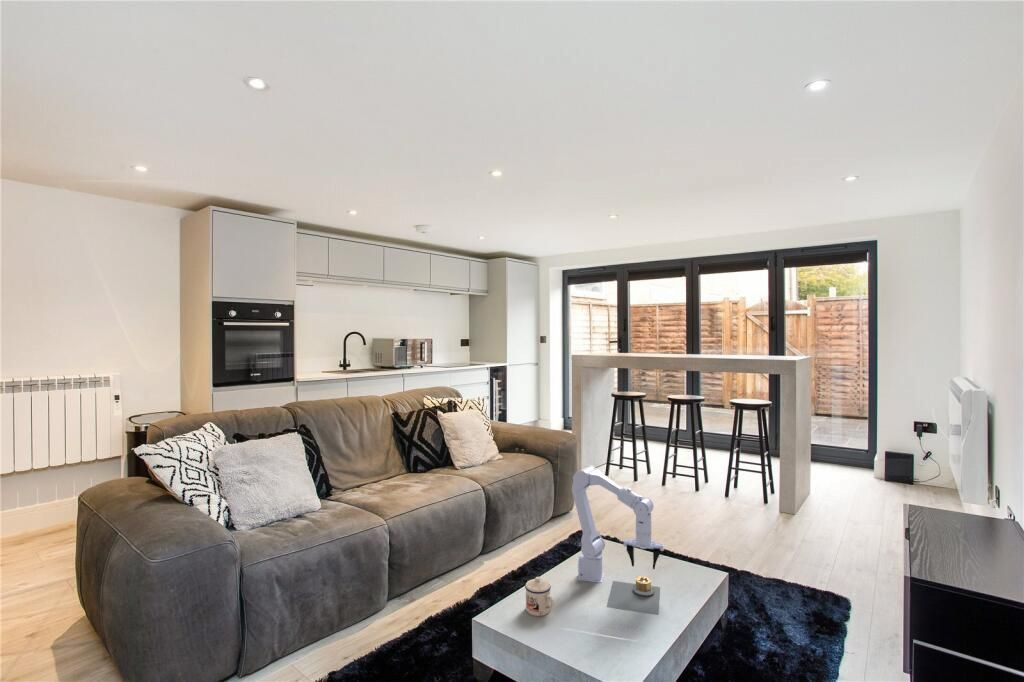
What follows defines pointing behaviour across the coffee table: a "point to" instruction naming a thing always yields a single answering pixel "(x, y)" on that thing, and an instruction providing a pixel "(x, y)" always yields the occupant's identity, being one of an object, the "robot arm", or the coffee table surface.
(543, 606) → the teacup with lid
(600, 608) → the coffee table surface
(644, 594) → the metal peg stand
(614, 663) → the coffee table surface
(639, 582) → the ring
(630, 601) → the bench mat
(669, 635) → the coffee table surface
